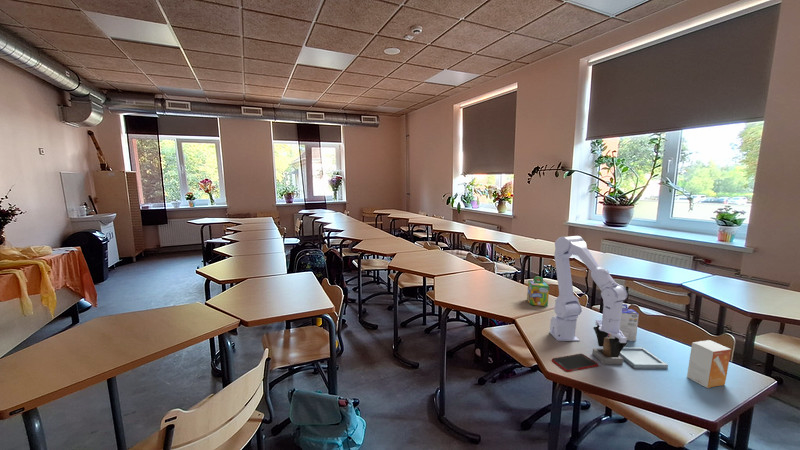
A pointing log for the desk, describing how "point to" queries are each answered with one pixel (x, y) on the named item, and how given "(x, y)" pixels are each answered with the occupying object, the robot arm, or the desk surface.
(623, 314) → the ink cartridge box
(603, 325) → the robot arm
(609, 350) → the pin
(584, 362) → the cell phone
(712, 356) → the small box
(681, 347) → the desk surface
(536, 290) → the chalk box
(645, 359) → the tray
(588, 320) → the desk surface
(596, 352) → the square frame
